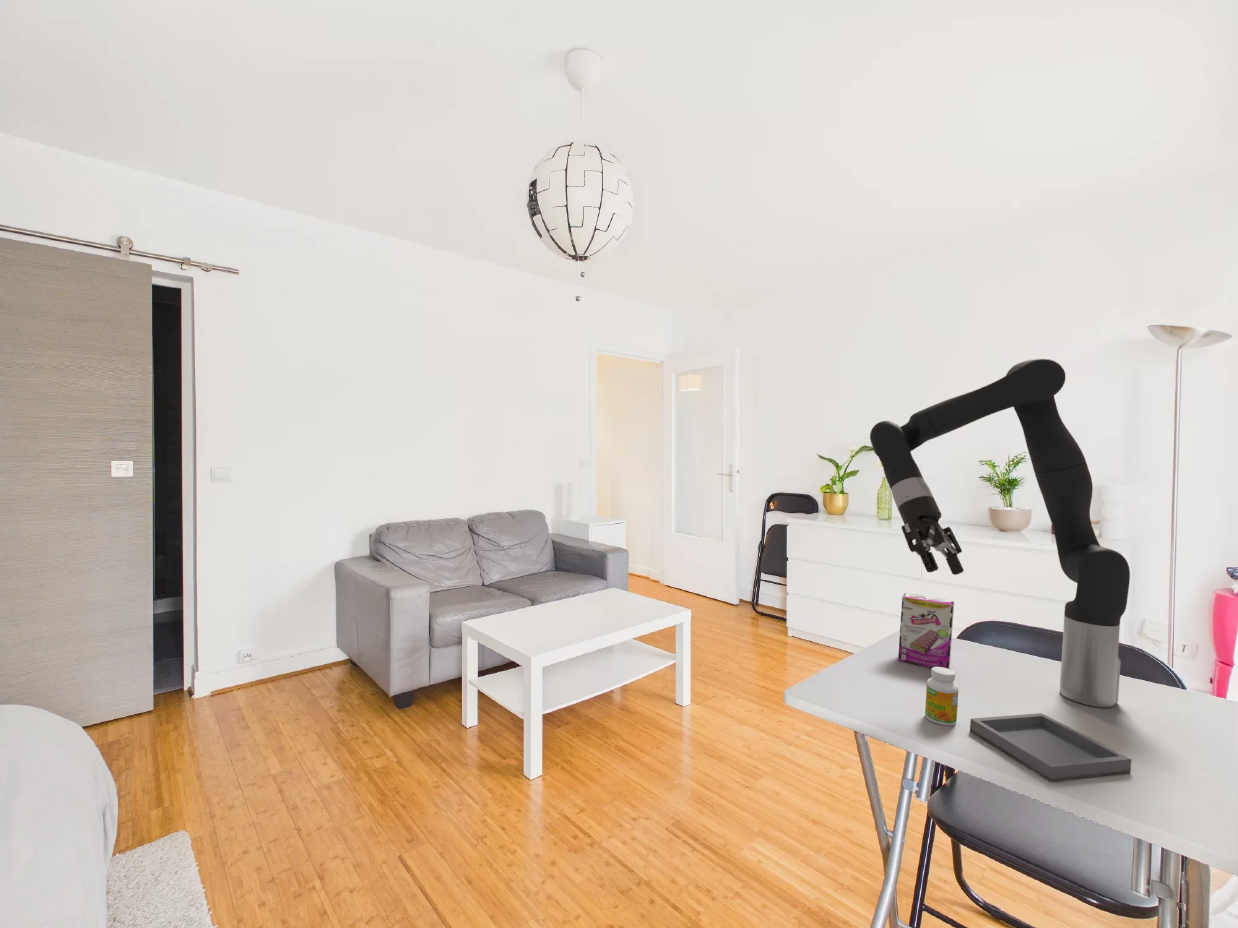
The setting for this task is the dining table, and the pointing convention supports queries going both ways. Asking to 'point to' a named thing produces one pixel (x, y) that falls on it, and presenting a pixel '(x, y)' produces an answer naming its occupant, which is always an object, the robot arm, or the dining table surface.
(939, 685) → the supplement bottle
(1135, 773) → the dining table surface
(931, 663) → the candy bar box
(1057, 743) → the tray
